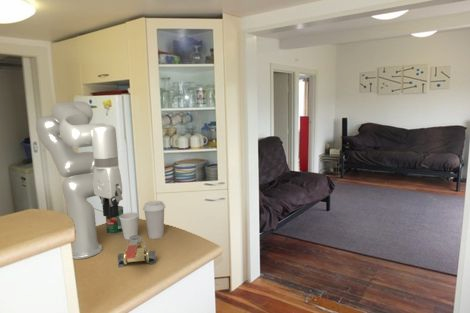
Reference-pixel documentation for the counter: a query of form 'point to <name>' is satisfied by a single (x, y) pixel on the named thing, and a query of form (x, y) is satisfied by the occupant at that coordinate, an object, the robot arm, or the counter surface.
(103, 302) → the counter surface
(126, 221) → the dixie cup
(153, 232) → the coffee cup
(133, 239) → the lever
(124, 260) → the valve body
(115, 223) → the canned tomato
